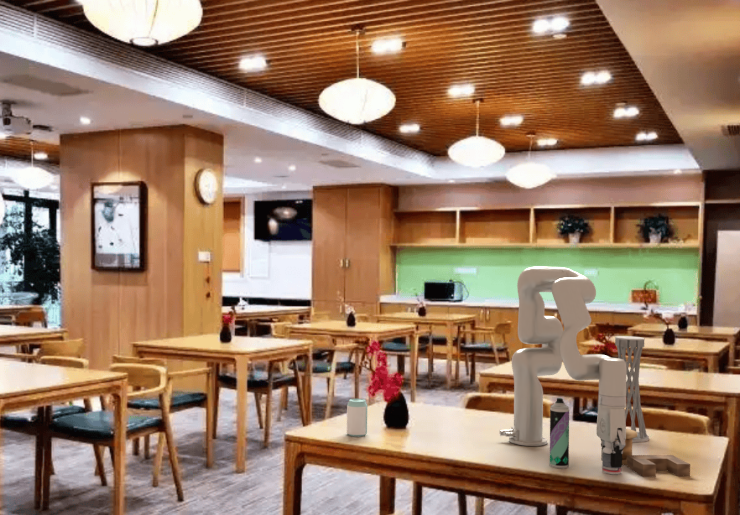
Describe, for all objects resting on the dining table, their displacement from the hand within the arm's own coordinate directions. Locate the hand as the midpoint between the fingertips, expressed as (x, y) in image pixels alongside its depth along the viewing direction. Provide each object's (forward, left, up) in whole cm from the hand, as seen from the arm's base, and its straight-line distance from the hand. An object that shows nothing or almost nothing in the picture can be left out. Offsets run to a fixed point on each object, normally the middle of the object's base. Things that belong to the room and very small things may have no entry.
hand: (611, 463), depth 204 cm
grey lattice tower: (+25, +42, -3) cm, 49 cm away
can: (-70, +48, -3) cm, 85 cm away
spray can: (-13, +7, -3) cm, 15 cm away
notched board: (+14, 0, -2) cm, 14 cm away
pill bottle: (0, 0, -3) cm, 3 cm away
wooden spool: (+8, +12, -2) cm, 15 cm away
